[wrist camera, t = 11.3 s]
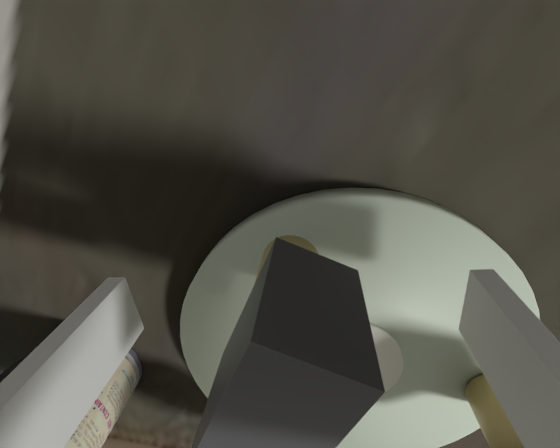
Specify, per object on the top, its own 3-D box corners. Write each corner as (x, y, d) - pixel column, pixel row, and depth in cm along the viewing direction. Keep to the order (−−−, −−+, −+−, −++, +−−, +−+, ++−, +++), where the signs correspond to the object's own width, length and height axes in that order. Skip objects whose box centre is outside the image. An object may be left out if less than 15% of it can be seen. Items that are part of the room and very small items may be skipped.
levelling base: (203, 147, 15) (187, 157, 13) (605, 237, 15) (648, 261, 13) (180, 403, 23) (168, 431, 22) (434, 461, 23) (445, 495, 21)
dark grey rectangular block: (285, 196, 14) (245, 362, 6) (347, 221, 14) (390, 415, 6) (242, 294, 16) (173, 501, 8) (294, 314, 17) (276, 535, 9)
